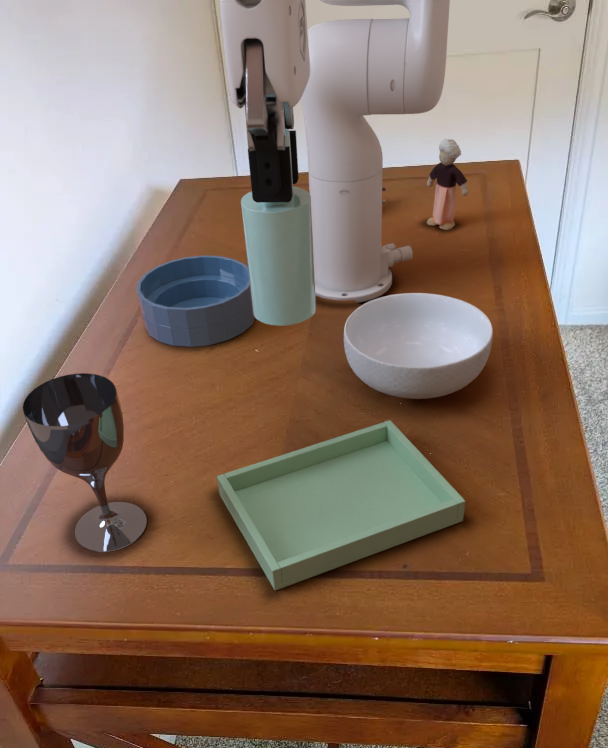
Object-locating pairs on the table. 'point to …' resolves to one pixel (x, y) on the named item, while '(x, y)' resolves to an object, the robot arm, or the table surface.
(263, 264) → the bottle
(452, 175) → the grandmother figurine
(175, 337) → the bowl
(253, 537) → the tray
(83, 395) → the wine glass
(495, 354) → the table surface
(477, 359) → the cereal bowl
